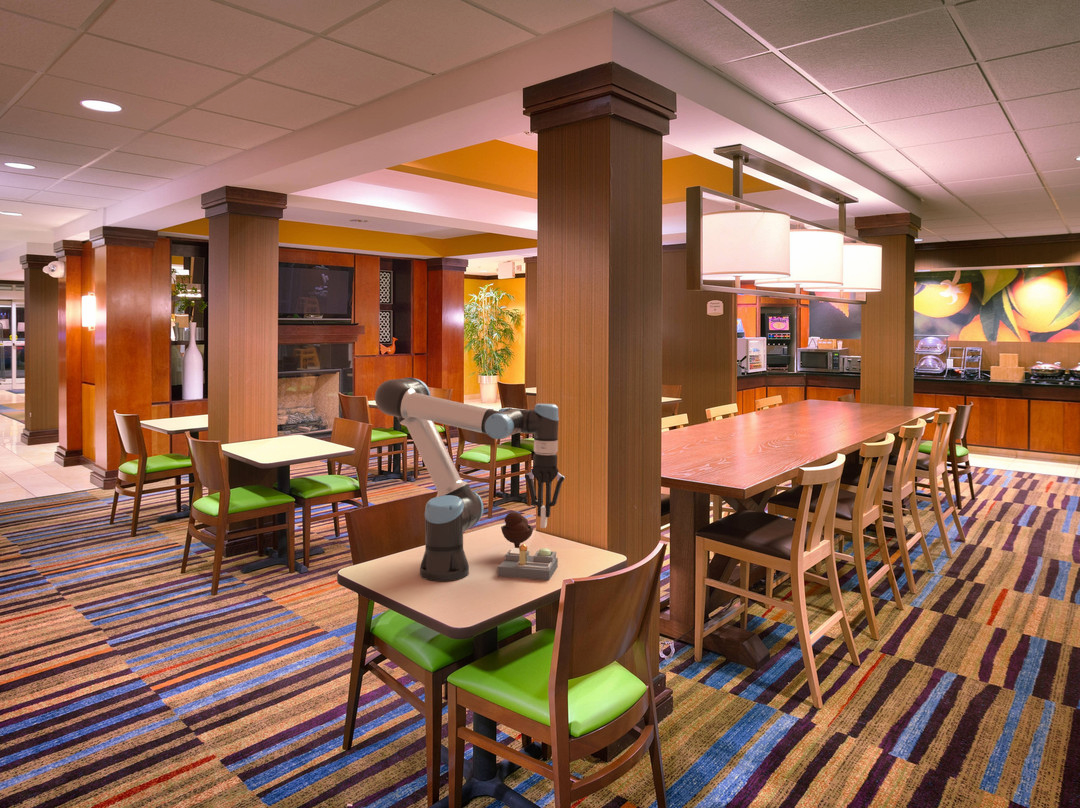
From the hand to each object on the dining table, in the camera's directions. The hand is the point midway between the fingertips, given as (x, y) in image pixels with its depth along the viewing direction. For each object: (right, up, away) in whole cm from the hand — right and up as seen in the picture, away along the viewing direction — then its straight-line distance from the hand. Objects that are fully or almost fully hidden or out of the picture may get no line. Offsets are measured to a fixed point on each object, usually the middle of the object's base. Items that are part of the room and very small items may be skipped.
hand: (543, 526), depth 219 cm
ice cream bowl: (-9, -13, +16) cm, 22 cm away
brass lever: (-6, -11, -4) cm, 13 cm away
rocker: (-8, -9, +3) cm, 13 cm away
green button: (0, -10, +1) cm, 11 cm away
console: (-5, -14, -1) cm, 15 cm away
